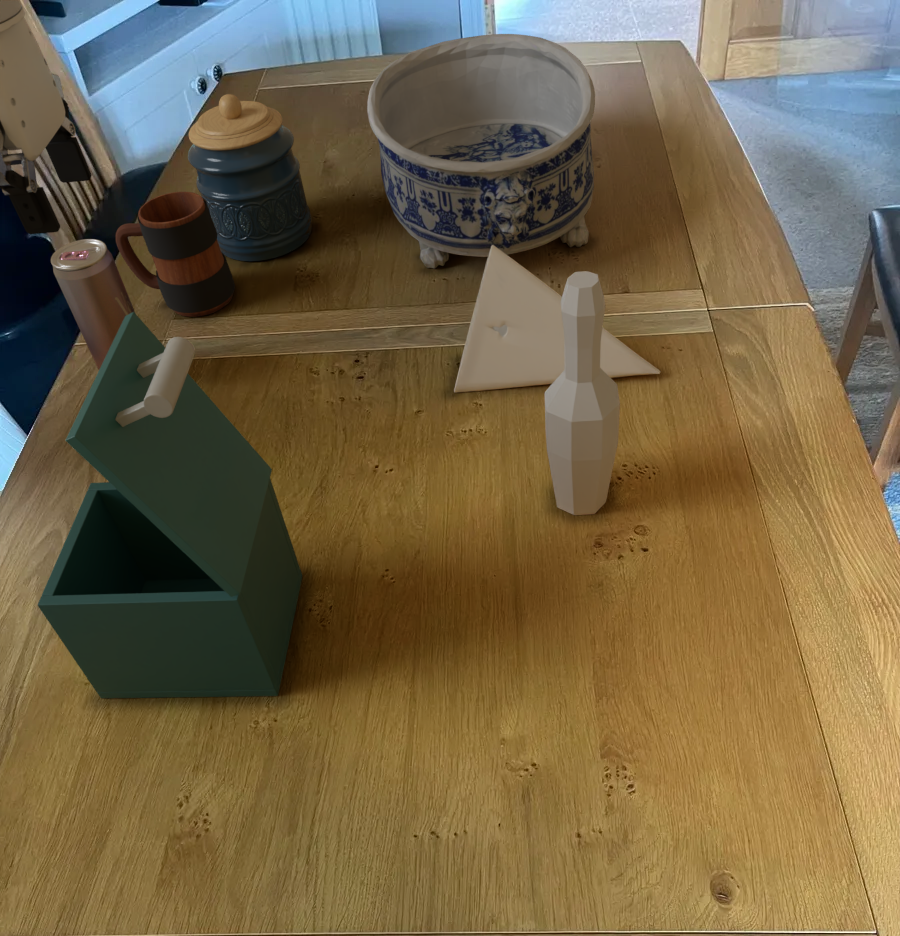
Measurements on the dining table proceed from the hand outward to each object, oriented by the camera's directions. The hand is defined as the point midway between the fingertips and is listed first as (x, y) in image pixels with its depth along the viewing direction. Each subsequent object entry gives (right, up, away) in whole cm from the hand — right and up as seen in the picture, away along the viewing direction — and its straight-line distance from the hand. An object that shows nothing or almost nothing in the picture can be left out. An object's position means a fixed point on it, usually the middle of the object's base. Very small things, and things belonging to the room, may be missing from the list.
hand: (61, 205), depth 90 cm
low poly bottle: (+49, -29, -4) cm, 57 cm away
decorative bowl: (+42, +12, +31) cm, 54 cm away
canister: (+13, +9, +33) cm, 36 cm away
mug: (+6, -2, +24) cm, 25 cm away
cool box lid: (+19, -28, -26) cm, 43 cm away
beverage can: (+2, -13, +15) cm, 20 cm away
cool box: (+17, -41, -11) cm, 45 cm away
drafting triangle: (+48, -13, +9) cm, 51 cm away
